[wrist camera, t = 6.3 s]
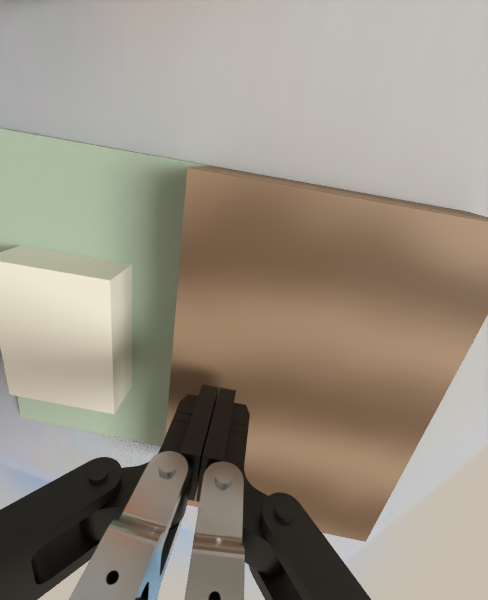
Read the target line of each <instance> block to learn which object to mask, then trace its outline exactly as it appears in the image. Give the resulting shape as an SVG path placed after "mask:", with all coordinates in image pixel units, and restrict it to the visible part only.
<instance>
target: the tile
mask: <svg viewBox="0 0 488 600" xmlns="http://www.w3.org/2000/svg"><path fill="white" fill-rule="evenodd" d="M0 348H1V353H2V358H3V363H4V368H5V373H6V378H7V383H8V388H9V393H10V395H14V396H19V397H25V398H30V399H35V400H41V401H46V402H51V403H57V404H62V405H67V406H73V407H78V408H84V409H89V410H94V411H100V412H105V413H110V414H115V412H116V411H117V409H118V408H119V406H120V404H121V403H122V401H123V400H124V398H125V397H126V395H127V393H128V392H129V390H130V389H131V387H132V264H126V263H120V262H114V261H108V260H103V259H97V258H91V257H85V256H79V255H73V254H68V253H62V252H56V251H50V250H44V249H39V248H33V247H27V246H21V245H20V246H17V247H15V248H12V249H9V250H6V251H3V252H0Z"/></svg>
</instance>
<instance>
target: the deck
mask: <svg viewBox="0 0 488 600" xmlns="http://www.w3.org/2000/svg"><path fill="white" fill-rule="evenodd" d="M487 315H488V217H484V216H481V215H477V214H474V213H470V212H465V211H460V210H454V209H449V208H443V207H437V206H432V205H426V204H421V203H415V202H410V201H404V200H398V199H393V198H387V197H382V196H376V195H371V194H365V193H360V192H354V191H348V190H343V189H337V188H332V187H326V186H321V185H315V184H309V183H304V182H298V181H293V180H287V179H282V178H276V177H271V176H265V175H259V174H254V173H248V172H243V171H237V170H232V169H226V168H221V167H215V166H201V167H191V168H187V179H186V191H185V203H184V215H183V228H182V240H181V252H180V264H179V276H178V289H177V301H176V313H175V325H174V337H173V350H172V362H171V374H170V386H169V398H168V410H167V423H166V434H167V432H168V429H169V427H170V424H171V422H172V420H173V417H174V414H175V413H176V409H177V407H178V404H179V402H180V401H181V400H182V399H183V398H184V397H185V396H186V395H187V394H191V395H196V396H198V395H199V392H200V389H201V387H202V384H205V385H210V386H215V387H219V389H220V387H221V388H226V389H232V390H236V395H235V400H234V403H239V404H244V405H246V406H247V408H248V411H249V414H250V418H249V427H248V436H247V445H246V454H245V464H244V472H245V475H246V478H247V480H248V481H249V483H250V484H251V485H252V486H253V487H254V488H256V489H257V490H259V491H261V492H262V493H264V494H266V495H268V496H269V495H271V494H273V493H277V492H282V493H286V494H289V495H291V496H293V497H294V498H295V499H296V500H297V501H298V502H299V503H300V504H301V505H302V507H303V508H304V510H305V511H306V512H307V514H308V515H309V516H310V518H311V519H312V520H313V522H314V523H315V524H316V526H317V527H318V528H319V530H320V531H321V532H322V533H326V534H331V535H336V536H341V537H346V538H351V539H356V540H360V541H365V542H366V540H367V538H368V536H369V534H370V532H371V531H372V529H373V527H374V525H375V523H376V521H377V519H378V518H379V516H380V514H381V512H382V510H383V508H384V506H385V505H386V503H387V501H388V499H389V497H390V495H391V493H392V492H393V490H394V488H395V486H396V484H397V482H398V480H399V479H400V477H401V475H402V473H403V471H404V469H405V467H406V465H407V464H408V462H409V460H410V458H411V456H412V454H413V452H414V451H415V449H416V447H417V445H418V443H419V441H420V439H421V438H422V436H423V434H424V432H425V430H426V428H427V426H428V425H429V423H430V421H431V419H432V417H433V415H434V413H435V412H436V410H437V408H438V406H439V404H440V402H441V400H442V399H443V397H444V395H445V393H446V391H447V389H448V387H449V385H450V384H451V382H452V380H453V378H454V376H455V374H456V372H457V371H458V369H459V367H460V365H461V363H462V361H463V359H464V358H465V356H466V354H467V352H468V350H469V348H470V346H471V345H472V343H473V341H474V339H475V337H476V335H477V333H478V332H479V330H480V328H481V326H482V324H483V322H484V320H485V319H486V317H487ZM218 393H219V391H218ZM165 436H166V435H165ZM197 491H198V488H197ZM196 498H197V492H196V496H195V500H194V501H192V500H188V502H187V505H190V506H195V507H199V502H197V501H196Z"/></svg>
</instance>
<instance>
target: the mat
mask: <svg viewBox="0 0 488 600" xmlns="http://www.w3.org/2000/svg"><path fill="white" fill-rule="evenodd" d="M201 166H209V165H204V164H198V163H193V162H187V161H182V160H176V159H170V158H165V157H159V156H154V155H148V154H143V153H137V152H132V151H126V150H120V149H115V148H109V147H104V146H98V145H93V144H87V143H82V142H76V141H70V140H65V139H59V138H54V137H48V136H43V135H37V134H31V133H26V132H20V131H15V130H9V129H4V128H0V252H3V251H6V250H9V249H12V248H15V247H17V246H20V245H21V246H27V247H33V248H39V249H44V250H50V251H56V252H62V253H68V254H73V255H79V256H85V257H91V258H97V259H103V260H108V261H114V262H120V263H126V264H132V387H131V389H130V390H129V392H128V393H127V395H126V397H125V398H124V400H123V401H122V403H121V404H120V406H119V408H118V409H117V411H116V412H115V414H110V413H105V412H100V411H94V410H89V409H84V408H78V407H73V406H67V405H62V404H57V403H51V402H46V401H41V400H35V399H30V398H25V397H19V396H17V398H18V404H19V409H20V415H21V418H24V419H29V420H34V421H39V422H44V423H49V424H54V425H59V426H64V427H69V428H74V429H79V430H84V431H88V432H93V433H98V434H103V435H108V436H113V437H118V438H123V439H128V440H133V441H138V442H143V443H148V444H153V445H158V446H162V444H163V441H164V439H165V435H166V423H167V410H168V398H169V386H170V374H171V362H172V350H173V337H174V325H175V313H176V301H177V289H178V276H179V264H180V252H181V240H182V228H183V215H184V203H185V191H186V179H187V168H191V167H201Z"/></svg>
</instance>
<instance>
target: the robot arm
mask: <svg viewBox="0 0 488 600" xmlns="http://www.w3.org/2000/svg"><path fill="white" fill-rule="evenodd" d="M218 391H219V393H218ZM235 395H236V390H232V389H226V388H221V387H220V389H219V387H215V386H210V385H205V384H202V387H201V389H200V392H199V395H198V396H196V395H191V394H187V395H186V396H185V397H184V398H183V399H182V400H181V401H180V402H179V404H178V407H177V409H176V413H175V414H174V417H173V420H172V422H171V424H170V427H169V429H168V432H167V434H166V436H165V439H164V441H163V444H162V446H161V449H160V451H159V453H158V454H157V455H155V456H154V457H153V458H152V459H151V460H150V461H149V462H148V463H146V464H143V465H140V466H135V467H126V468H121V466H120V464H119V463H118V462H117V461H116V460H114V459H112V458H109V457H100V458H96V459H93V460H91V461H89V462H87V463H85V464H83V465H82V466H80V467H78V468H76V469H74V470H72V471H71V472H69V473H67V474H65V475H63V476H61V477H60V478H58V479H56V480H54V481H52V482H50V483H49V484H47V485H45V486H43V487H41V488H39V489H38V490H36V491H34V492H32V493H30V494H29V495H27V496H25V497H23V498H21V499H19V500H18V501H16V502H14V503H12V504H10V505H9V506H6V507H5V508H3V509H1V510H0V600H37V599H39V598H40V597H41V596H43V595H44V594H45V593H46V592H48V591H49V590H51V589H52V588H53V587H54V586H56V585H57V584H58V583H60V582H61V581H62V580H64V579H65V578H66V577H68V576H69V575H70V574H72V573H73V572H74V571H76V570H77V569H78V568H79V567H81V566H82V565H84V564H85V563H86V562H88V561H89V560H90V559H91V560H90V561H89V563H88V565H87V567H86V569H85V571H84V572H83V574H82V576H81V578H80V580H79V582H78V584H77V585H76V587H75V589H74V591H73V593H72V595H71V597H70V599H69V600H157V597H158V593H159V589H160V585H161V582H162V579H163V576H164V573H165V570H166V567H167V563H168V561H169V558H170V555H171V552H172V549H173V546H174V543H175V540H176V538H177V535H178V532H179V529H180V526H181V523H182V518H183V516H184V513H185V510H186V506H187V502H188V500H192V501H194V500H195V496H196V492H197V498H196V501H197V502H199V508H198V515H197V522H196V528H195V535H194V541H193V548H192V554H191V561H190V568H189V574H188V581H187V587H186V594H185V600H244V565H245V562H246V563H247V564H249V567H250V571H251V573H252V575H253V577H254V579H255V581H256V583H257V585H258V587H259V589H260V590H261V592H262V594H263V596H264V598H265V600H371V599H370V597H369V596H368V595H367V593H366V592H365V591H364V589H363V588H362V587H361V585H360V584H359V582H358V581H357V580H356V578H355V577H354V576H353V574H352V573H351V572H350V570H349V569H348V568H347V566H346V565H345V564H344V562H343V561H342V560H341V558H340V557H339V555H338V554H337V553H336V551H335V550H334V549H333V547H332V546H331V545H330V543H329V542H328V541H327V539H326V538H325V537H324V535H323V534H322V532H321V531H320V530H319V528H318V527H317V526H316V524H315V523H314V522H313V520H312V519H311V518H310V516H309V515H308V514H307V512H306V511H305V510H304V508H303V507H302V505H301V504H300V503H299V502H298V501H297V500H296V499H295V498H294V497H293V496H291V495H289V494H286V493H282V492H277V493H273V494H271V495H269V496H268V495H266V494H264V493H262V492H261V491H259V490H257V489H256V488H254V487H253V486H252V485H251V484H250V483H249V481H248V480H247V478H246V475H245V472H244V464H245V454H246V445H247V436H248V427H249V418H250V414H249V411H248V408H247V406H246V405H244V404H239V403H234V400H235ZM197 488H198V491H197Z"/></svg>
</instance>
